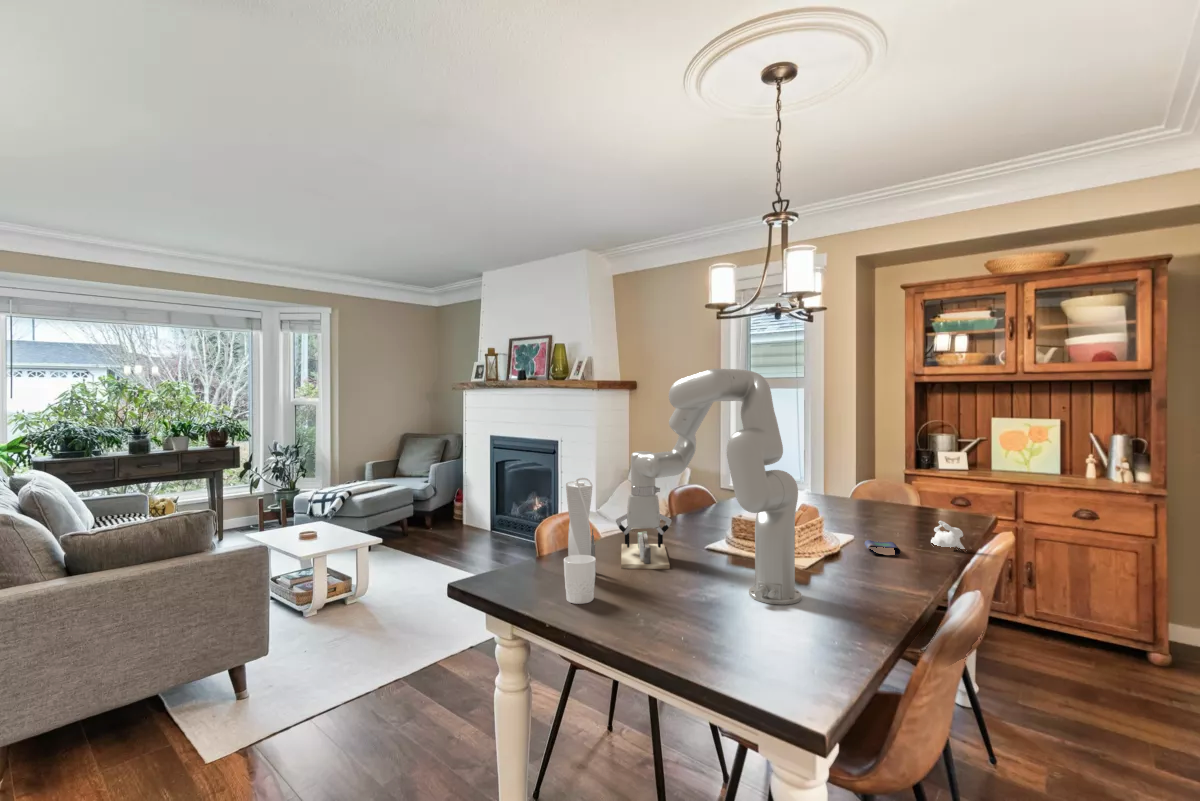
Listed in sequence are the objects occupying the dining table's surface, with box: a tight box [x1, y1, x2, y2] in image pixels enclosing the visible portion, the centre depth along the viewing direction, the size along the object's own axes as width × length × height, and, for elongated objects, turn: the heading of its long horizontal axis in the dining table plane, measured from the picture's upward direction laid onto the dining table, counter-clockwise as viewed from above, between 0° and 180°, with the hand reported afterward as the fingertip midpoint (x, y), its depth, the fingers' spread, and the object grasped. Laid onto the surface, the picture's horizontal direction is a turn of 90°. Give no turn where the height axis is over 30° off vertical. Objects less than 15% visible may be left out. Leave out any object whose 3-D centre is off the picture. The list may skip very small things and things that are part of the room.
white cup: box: [563, 555, 597, 605], centre depth 142 cm, size 8×8×10 cm
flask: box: [864, 539, 902, 556], centre depth 184 cm, size 9×3×11 cm
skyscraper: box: [565, 477, 597, 580], centre depth 160 cm, size 8×8×28 cm
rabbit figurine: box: [930, 520, 966, 550], centre depth 187 cm, size 12×8×10 cm, turn 22°
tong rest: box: [620, 530, 671, 570], centre depth 179 cm, size 14×24×6 cm, turn 178°
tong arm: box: [637, 531, 644, 561], centre depth 179 cm, size 1×18×4 cm, turn 178°
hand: (643, 546), depth 179 cm, fingers open, 9 cm apart
